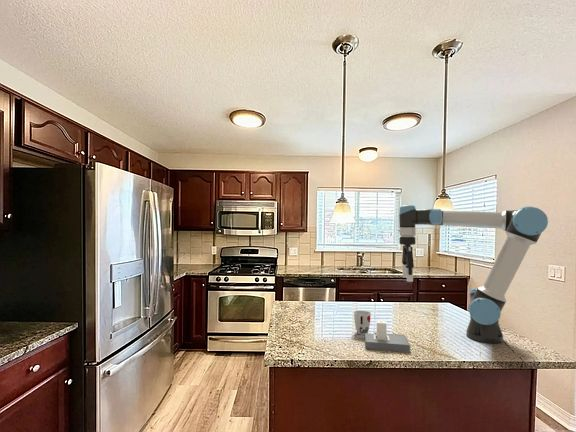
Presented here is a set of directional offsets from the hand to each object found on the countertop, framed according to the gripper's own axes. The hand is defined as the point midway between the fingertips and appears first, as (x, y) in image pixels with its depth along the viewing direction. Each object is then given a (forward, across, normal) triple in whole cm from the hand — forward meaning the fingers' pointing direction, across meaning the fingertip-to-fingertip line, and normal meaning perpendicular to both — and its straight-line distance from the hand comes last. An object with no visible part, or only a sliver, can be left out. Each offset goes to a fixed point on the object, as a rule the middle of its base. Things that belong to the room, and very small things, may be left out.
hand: (407, 279), depth 163 cm
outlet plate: (+27, +19, -12) cm, 35 cm away
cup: (+27, +3, -22) cm, 35 cm away
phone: (+27, +7, -9) cm, 30 cm away
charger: (+27, +18, -14) cm, 35 cm away
